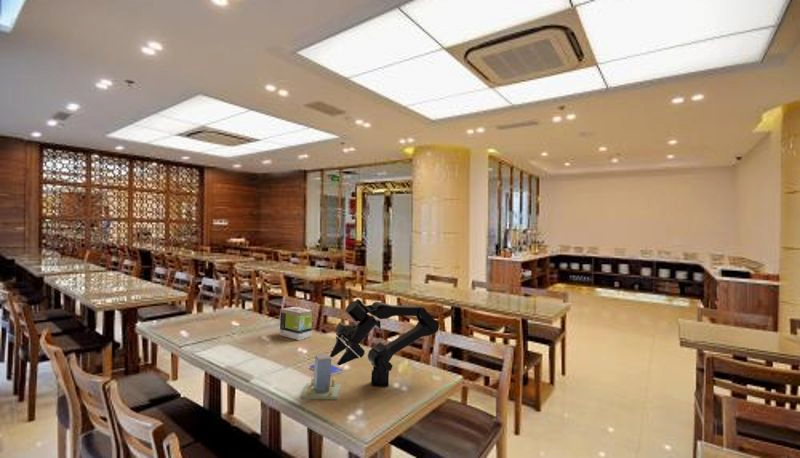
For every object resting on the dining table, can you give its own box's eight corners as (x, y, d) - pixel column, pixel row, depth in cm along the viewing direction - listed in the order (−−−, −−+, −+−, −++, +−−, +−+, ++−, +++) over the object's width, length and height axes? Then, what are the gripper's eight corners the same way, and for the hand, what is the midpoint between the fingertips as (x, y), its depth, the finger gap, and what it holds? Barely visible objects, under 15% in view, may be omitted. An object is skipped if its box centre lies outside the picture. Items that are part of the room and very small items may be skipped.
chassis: (340, 386, 151) (340, 377, 151) (337, 399, 140) (337, 389, 140) (306, 385, 150) (306, 376, 150) (300, 398, 140) (301, 388, 139)
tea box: (312, 336, 214) (313, 309, 214) (298, 340, 206) (299, 312, 205) (292, 331, 222) (294, 305, 222) (278, 335, 214) (280, 308, 213)
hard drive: (342, 369, 166) (325, 361, 175) (327, 374, 160) (309, 365, 169) (342, 373, 166) (325, 365, 175) (326, 377, 160) (309, 369, 169)
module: (326, 386, 149) (328, 353, 148) (329, 391, 144) (331, 357, 144) (313, 387, 147) (315, 354, 146) (316, 393, 142) (317, 358, 142)
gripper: (341, 310, 158) (313, 340, 153) (357, 321, 141) (326, 355, 136) (359, 327, 161) (332, 357, 157) (377, 340, 145) (347, 374, 140)
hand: (334, 360), depth 147 cm, fingers open, 9 cm apart
